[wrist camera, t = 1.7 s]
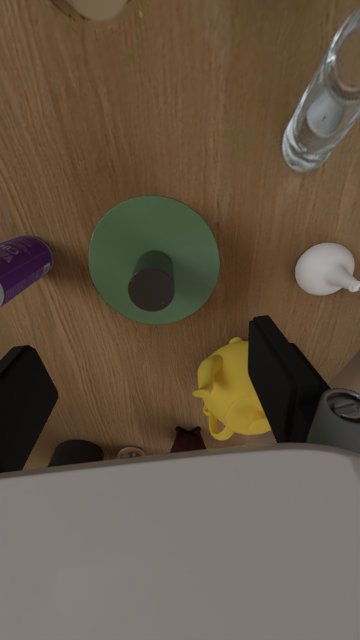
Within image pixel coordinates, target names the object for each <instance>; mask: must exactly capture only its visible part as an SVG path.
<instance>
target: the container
mask: <svg viewBox="0 0 360 640" xmlns="http://www.w3.org/2000/svg"><path fill="white" fill-rule="evenodd" d="M53 264H54V256H53V253H52V251H51V249H50V247H49V246H48V245H47V244H46V243H45V242H44V241H42V240H41V239H39V238H37V237H35V236H30V235H25V236H21V237H18V238H15V239H12V240H9V241H6V242H4V243H1V244H0V307H2V306H3V305H4V304H6V303H7V302H8V301H10V300H11V299H12V298H14V297H15V296H16V295H18V294H19V293H20V292H22V291H23V290H25V289H26V288H27V287H29V286H30V285H31V284H33V283H34V282H35V281H37V280H38V279H39V278H41V277H42V276H43V275H45V274H46V273H47V272H49V271H50V270H51V269H52V267H53Z"/></svg>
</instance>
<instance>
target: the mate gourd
mask: <svg viewBox="0 0 360 640" xmlns="http://www.w3.org/2000/svg"><path fill="white" fill-rule="evenodd" d="M175 430H176V431H177V435H176V439H175V440H174V444H173V446H172V448H171V451H170V453H177V452H186V451H195V450H204V449H206V447H205V445H204V442H203V439H202V436H201V434H200V430H201V429H200V427H196V428H194V429H193V430H191V431H189V432H186V431H185V430H183V429H182V428H180V427H179V426H177V427H176V429H175Z"/></svg>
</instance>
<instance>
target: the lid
mask: <svg viewBox="0 0 360 640" xmlns="http://www.w3.org/2000/svg"><path fill="white" fill-rule="evenodd" d="M88 265H89V271H90V275H91V278H92V281H93V284H94V286H95V288H96V289H97V291H98V293H99V294H100V296H101V297H102V299H103V300H104V301H105V302H106V303H107V304H108V305H109V306H110V307H111V308H112V309H114V310H115V311H116V312H118V313H119V314H121V315H123V316H124V317H126V318H128V319H131V320H133V321H136V322H140V323H145V324H154V325H159V324H168V323H173V322H176V321H179V320H182V319H184V318H186V317H188V316H190V315H191V314H193V313H194V312H196V311H197V310H198V309H199V308H200V307H201V306H202V305H203V304H204V303H205V302H206V301H207V300H208V298H209V297H210V295H211V293H212V292H213V290H214V288H215V285H216V282H217V279H218V275H219V269H220V257H219V250H218V246H217V242H216V240H215V237H214V235H213V233H212V231H211V229H210V227H209V226H208V225H207V223H206V222H205V221H204V219H203V218H202V217H201V216H200V215H199V214H198V213H197V212H195V211H194V210H193V209H192V208H190V207H189V206H187V205H185V204H184V203H182V202H180V201H177V200H175V199H172V198H169V197H164V196H157V195H146V196H139V197H134V198H131V199H129V200H126V201H124V202H122V203H120V204H118V205H116V206H115V207H113V208H112V209H111V210H110V211H108V212H107V213H106V214H105V215H104V216H103V218H102V219H101V220H100V222H99V223H98V224H97V226H96V228H95V230H94V232H93V234H92V237H91V240H90V244H89V249H88Z"/></svg>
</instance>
